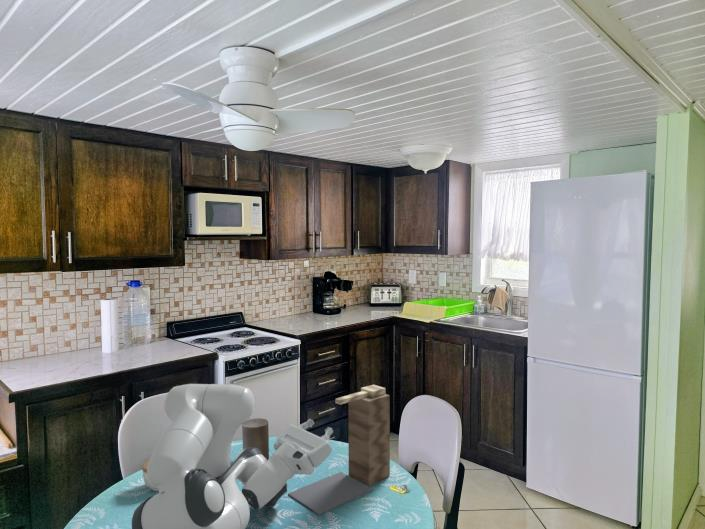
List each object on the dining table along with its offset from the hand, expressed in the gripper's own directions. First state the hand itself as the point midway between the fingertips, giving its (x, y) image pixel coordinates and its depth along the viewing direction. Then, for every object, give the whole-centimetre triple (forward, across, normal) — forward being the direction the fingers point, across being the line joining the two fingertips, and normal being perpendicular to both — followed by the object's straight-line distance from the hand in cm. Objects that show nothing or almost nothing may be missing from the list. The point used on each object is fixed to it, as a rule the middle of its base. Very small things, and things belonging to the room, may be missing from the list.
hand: (321, 424), depth 150 cm
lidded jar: (-42, -41, -2) cm, 59 cm away
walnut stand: (+7, 0, -30) cm, 31 cm away
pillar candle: (-13, -38, -19) cm, 44 cm away
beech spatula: (+17, 0, -4) cm, 18 cm away
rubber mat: (-8, 0, -22) cm, 23 cm away
